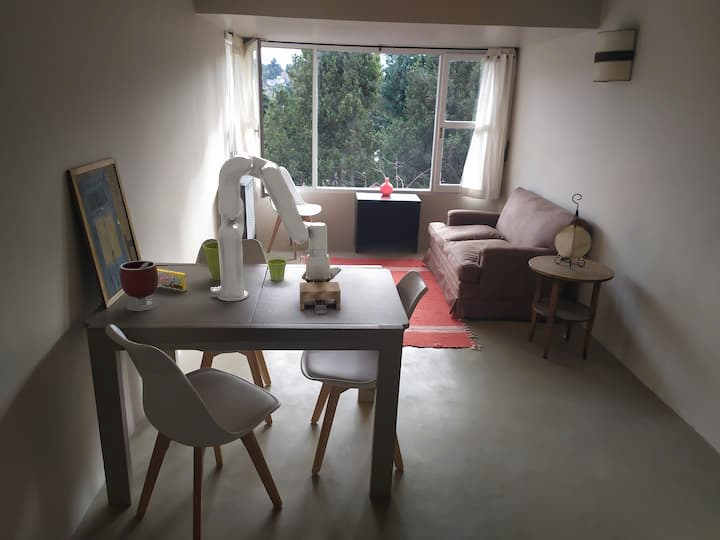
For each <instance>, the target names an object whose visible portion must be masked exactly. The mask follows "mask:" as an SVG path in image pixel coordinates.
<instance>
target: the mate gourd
mask: <svg viewBox="0 0 720 540" xmlns="http://www.w3.org/2000/svg"><path fill="white" fill-rule="evenodd" d="M157 269H158V268H157V264H156V262H155V261H152V260H134V261H127V262H124V263H122V264H120V270H119V283H120V285H121V289H122V290H123V292H124V294H126V295H127V296H128V297H130V298H134V299H135V298H136V301H137V304H138V305H140V306H142V305H144V306H148V305H151V304H152V302H151V301H146V299H147V297H149V296H152V295H153V294H154V293H155V291H156V290H157V289H158V287H157V286H158V271H157ZM144 306H142V307H144Z"/></svg>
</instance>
